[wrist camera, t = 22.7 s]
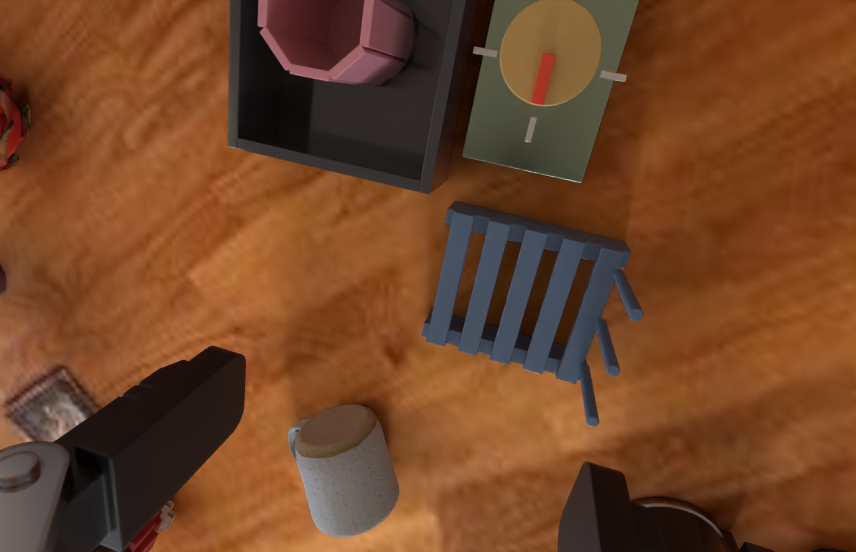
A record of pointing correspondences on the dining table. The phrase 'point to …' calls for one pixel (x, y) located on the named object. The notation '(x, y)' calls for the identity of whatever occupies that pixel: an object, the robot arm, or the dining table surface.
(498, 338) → the drying rack
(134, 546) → the cake
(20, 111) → the dragon fruit
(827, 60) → the dining table surface
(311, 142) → the dark grey open box
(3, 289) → the ice cream bowl
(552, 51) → the tap knob
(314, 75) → the cup
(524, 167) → the tap panel
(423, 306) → the dining table surface
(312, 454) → the ceramic mug
